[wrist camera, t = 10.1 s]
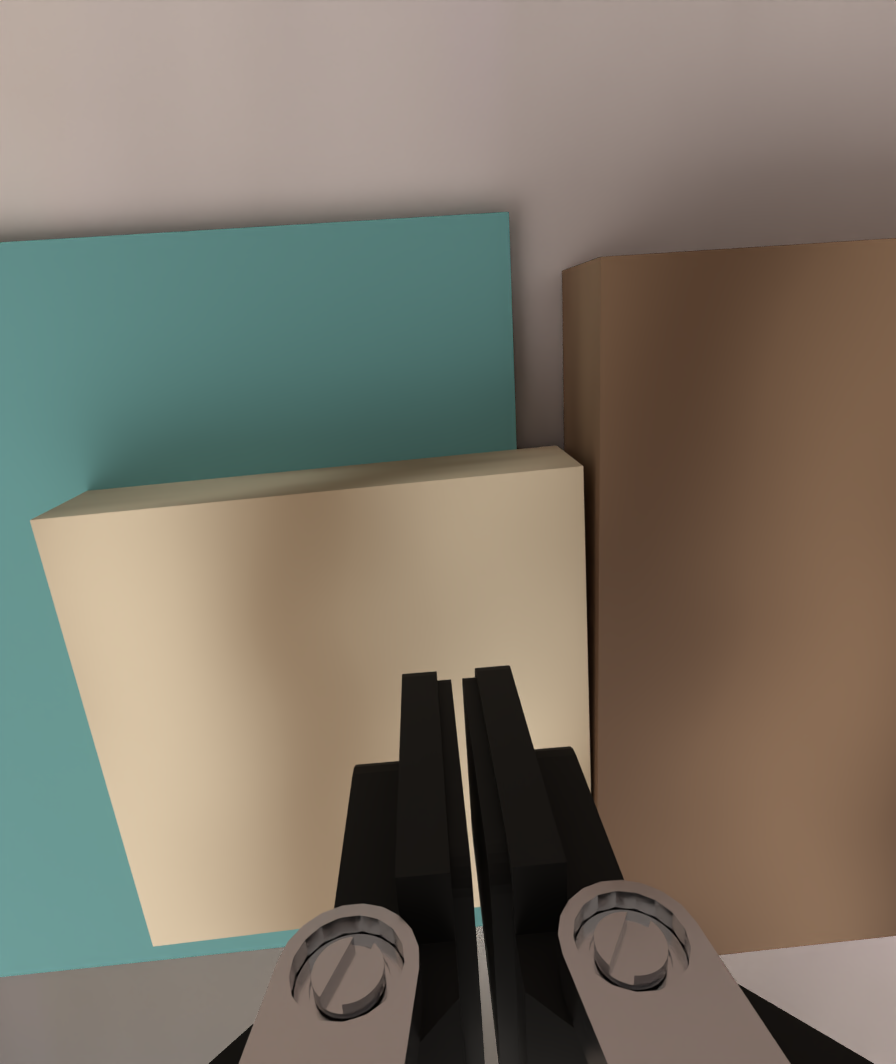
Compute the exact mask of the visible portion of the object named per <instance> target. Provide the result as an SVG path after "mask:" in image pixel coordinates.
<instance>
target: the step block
mask: <svg viewBox="0 0 896 1064" xmlns="http://www.w3.org/2000/svg"><path fill="white" fill-rule="evenodd" d="M562 303H563V394H564V452H566V453H567V454H568V455H570V456H571V457H572V458H573V459H575V460H576V461H577V462H579V463H580V464H581V465H583V476H584V518H585V561H586V603H587V645H588V688H589V730H590V773H591V795H592V797H593V800H594V803H595V805H596V808H597V810H598V813H599V816H600V818H601V821H602V823H603V826H604V829H605V831H606V834H607V836H608V839H609V842H610V844H611V847H612V850H613V852H614V855H615V857H616V860H617V863H618V865H619V868H620V870H621V873H622V876H623V878H624V880H625V881H631V882H638V883H643V884H645V885H648V886H650V887H653V888H655V889H658V890H660V891H663V892H664V893H666V894H667V895H668V896H670V897H671V898H673V899H674V900H676V901H677V902H678V903H680V904H681V905H682V906H683V907H684V908H685V909H686V910H687V912H688V913H689V914H690V915H691V916H692V917H693V918H694V920H695V921H696V922H697V923H698V925H699V926H700V928H701V929H702V931H703V932H704V934H705V935H706V937H707V939H708V940H709V942H710V943H711V945H712V946H713V948H714V949H715V951H716V952H717V954H718V955H724V954H733V953H742V952H751V951H760V950H770V949H779V948H788V947H797V946H806V945H815V944H824V943H833V942H843V941H852V940H861V939H870V938H879V937H888V936H896V238H891V239H875V240H859V241H843V242H827V243H812V244H796V245H780V246H764V247H748V248H733V249H717V250H701V251H685V252H669V253H654V254H638V255H622V256H606V257H599V258H596V259H594V260H591V261H588V262H585V263H583V264H580V265H577V266H574V267H571V268H569V269H566V270H563V271H562Z"/></svg>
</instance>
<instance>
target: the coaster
mask: <svg viewBox="0 0 896 1064" xmlns="http://www.w3.org/2000/svg"><path fill="white" fill-rule="evenodd" d="M30 523H31V526H32V530H33V533H34V537H35V540H36V544H37V547H38V551H39V554H40V557H41V561H42V564H43V568H44V571H45V575H46V578H47V582H48V585H49V589H50V592H51V595H52V599H53V602H54V606H55V609H56V613H57V616H58V620H59V623H60V627H61V630H62V633H63V637H64V640H65V644H66V647H67V651H68V654H69V658H70V661H71V665H72V668H73V671H74V675H75V678H76V682H77V685H78V689H79V692H80V696H81V699H82V703H83V706H84V709H85V713H86V716H87V720H88V723H89V727H90V730H91V734H92V737H93V741H94V744H95V748H96V751H97V754H98V758H99V761H100V765H101V768H102V772H103V775H104V779H105V782H106V786H107V789H108V792H109V796H110V799H111V803H112V806H113V810H114V813H115V817H116V820H117V824H118V827H119V830H120V834H121V837H122V841H123V844H124V848H125V851H126V855H127V858H128V862H129V865H130V868H131V872H132V875H133V879H134V882H135V886H136V889H137V893H138V896H139V900H140V903H141V906H142V910H143V913H144V917H145V920H146V924H147V927H148V931H149V934H150V938H151V941H152V944H153V947H154V946H162V945H170V944H179V943H187V942H195V941H203V940H212V939H220V938H228V937H236V936H245V935H253V934H261V933H269V932H277V931H286V930H294V929H300V928H301V927H302V926H303V925H304V924H306V923H307V922H309V921H311V920H312V919H314V918H315V917H317V916H318V915H320V914H321V913H323V912H326V911H329V910H332V909H334V905H335V897H336V890H337V883H338V876H339V868H340V861H341V854H342V847H343V839H344V832H345V825H346V818H347V810H348V803H349V796H350V789H351V782H352V774H353V769H354V766H355V765H358V764H369V763H381V762H393V761H399V747H400V718H401V688H402V674H408V673H420V672H433V671H437V680H449V679H451V683H452V692H453V701H454V711H455V720H456V729H457V738H458V748H459V757H460V766H461V775H462V785H463V794H464V803H465V813H466V822H467V831H468V840H469V850H470V860H471V871H472V883H473V896H474V908H475V907H480V898H479V890H478V881H477V873H476V864H475V855H474V847H473V837H472V825H471V810H470V795H469V780H468V765H467V749H466V734H465V719H464V703H463V688H462V678H473V677H475V668H481V667H493V666H505V665H510V668H511V671H512V674H513V678H514V681H515V685H516V688H517V691H518V695H519V698H520V702H521V705H522V709H523V712H524V716H525V719H526V723H527V726H528V730H529V733H530V736H531V740H532V743H533V747H534V749H543V748H555V747H567V746H571V747H572V748H573V749H574V752H575V754H576V756H577V758H578V761H579V764H580V766H581V769H582V771H583V774H584V777H585V779H586V782H587V784H588V787H589V790H590V792H591V773H590V730H589V688H588V645H587V603H586V561H585V518H584V476H583V465H581V464H580V463H579V462H577V461H576V460H575V459H573V458H572V457H571V456H570V455H568V454H567V453H566V452H564V451H563V450H562V449H560V448H559V447H558V446H557V445H556V446H546V447H535V448H525V449H515V450H504V451H494V452H484V453H473V454H463V455H453V456H442V457H432V458H422V459H411V460H401V461H390V462H380V463H370V464H359V465H349V466H339V467H328V468H318V469H308V470H297V471H287V472H277V473H266V474H256V475H246V476H235V477H225V478H215V479H204V480H194V481H184V482H173V483H163V484H153V485H142V486H132V487H122V488H111V489H101V490H91V491H86V492H84V493H82V494H80V495H78V496H76V497H74V498H72V499H70V500H68V501H66V502H64V503H62V504H60V505H58V506H57V507H55V508H53V509H51V510H49V511H47V512H45V513H43V514H41V515H39V516H37V517H35V518H33V519H31V520H30Z"/></svg>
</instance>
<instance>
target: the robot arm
mask: <svg viewBox="0 0 896 1064" xmlns="http://www.w3.org/2000/svg"><path fill="white" fill-rule="evenodd" d="M462 688H463V703H464V719H465V734H466V749H467V765H468V780H469V795H470V810H471V825H472V837H473V847H474V855H475V864H476V873H477V881H478V890H479V898H480V907H481V916H482V924H483V933H484V941H485V950H486V959H487V967H488V976H489V984H490V993H491V1002H492V1010H493V1019H494V1027H495V1036H496V1045H497V1053H498V1062H499V1064H874V1063H872V1062H870V1061H869V1060H867V1059H865V1058H864V1057H862V1056H860V1055H858V1054H857V1053H855V1052H853V1051H852V1050H850V1049H848V1048H846V1047H845V1046H843V1045H841V1044H840V1043H838V1042H836V1041H835V1040H833V1039H831V1038H829V1037H828V1036H826V1035H824V1034H823V1033H821V1032H819V1031H817V1030H816V1029H814V1028H812V1027H811V1026H809V1025H807V1024H805V1023H804V1022H802V1021H800V1020H799V1019H797V1018H795V1017H794V1016H792V1015H790V1014H788V1013H787V1012H785V1011H783V1010H782V1009H780V1008H778V1007H776V1006H775V1005H773V1004H771V1003H770V1002H768V1001H766V1000H765V999H763V998H761V997H759V996H758V995H756V994H754V993H753V992H751V991H749V990H747V989H746V988H744V987H742V986H741V985H739V984H737V982H736V981H735V979H734V978H733V976H732V975H731V973H730V972H729V970H728V969H727V967H726V966H725V964H724V963H723V961H722V960H721V958H720V957H719V955H718V954H717V952H716V951H715V949H714V948H713V946H712V945H711V943H710V942H709V940H708V939H707V937H706V935H705V934H704V932H703V931H702V929H701V928H700V926H699V925H698V923H697V922H696V921H695V920H694V918H693V917H692V916H691V915H690V914H689V913H688V912H687V910H686V909H685V908H684V907H683V906H682V905H681V904H680V903H678V902H677V901H676V900H674V899H673V898H671V897H670V896H668V895H667V894H666V893H664V892H663V891H660V890H658V889H655V888H653V887H650V886H648V885H645V884H643V883H638V882H631V881H625V880H624V878H623V876H622V873H621V870H620V868H619V865H618V863H617V860H616V857H615V855H614V852H613V850H612V847H611V844H610V842H609V839H608V836H607V834H606V831H605V829H604V826H603V823H602V821H601V818H600V816H599V813H598V810H597V808H596V805H595V803H594V800H593V797H592V795H591V792H590V790H589V787H588V784H587V782H586V779H585V777H584V774H583V771H582V769H581V766H580V764H579V761H578V758H577V756H576V754H575V752H574V749H573V748H572V747H571V746H567V747H555V748H543V749H534V747H533V743H532V740H531V736H530V733H529V730H528V726H527V723H526V719H525V716H524V712H523V709H522V705H521V702H520V698H519V695H518V691H517V688H516V685H515V681H514V678H513V674H512V671H511V668H510V665H505V666H493V667H481V668H475V677H473V678H462ZM209 1064H485V1061H484V1046H483V1031H482V1016H481V1001H480V986H479V971H478V956H477V941H476V926H475V911H474V896H473V883H472V871H471V860H470V850H469V840H468V831H467V822H466V813H465V803H464V794H463V785H462V775H461V766H460V757H459V748H458V738H457V729H456V720H455V711H454V701H453V692H452V683H451V679H449V680H437V671H433V672H420V673H408V674H402V688H401V718H400V747H399V761H393V762H381V763H369V764H358V765H355V766H354V769H353V774H352V782H351V789H350V796H349V803H348V810H347V818H346V825H345V832H344V839H343V847H342V854H341V861H340V868H339V876H338V883H337V890H336V897H335V905H334V909H332V910H329V911H326V912H323V913H321V914H320V915H318V916H317V917H315V918H314V919H312V920H311V921H309V922H307V923H306V924H304V925H303V926H302V927H301V928H300V929H299V930H298V931H297V932H296V934H295V935H294V936H293V937H292V938H291V939H290V940H289V941H288V942H287V944H286V946H285V948H284V950H283V951H282V953H281V955H280V957H279V959H278V961H277V963H276V966H275V968H274V971H273V974H272V976H271V979H270V982H269V984H268V987H267V990H266V992H265V995H264V998H263V1000H262V1003H261V1006H260V1008H259V1011H258V1014H257V1016H256V1019H255V1022H254V1024H253V1025H251V1026H250V1027H249V1028H248V1029H247V1030H246V1031H245V1032H244V1033H242V1034H241V1035H240V1036H239V1037H238V1038H237V1039H236V1040H235V1041H233V1042H232V1043H231V1044H230V1045H229V1046H228V1047H227V1048H226V1049H225V1050H223V1051H222V1052H221V1053H220V1054H219V1055H218V1056H217V1057H216V1058H214V1059H213V1060H212V1061H211V1062H210V1063H209Z"/></svg>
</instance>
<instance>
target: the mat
mask: <svg viewBox="0 0 896 1064" xmlns="http://www.w3.org/2000/svg"><path fill="white" fill-rule="evenodd" d="M515 449H517V444H516V414H515V383H514V353H513V322H512V292H511V261H510V231H509V212H497V213H481V214H464V215H447V216H431V217H414V218H397V219H381V220H364V221H347V222H331V223H314V224H297V225H281V226H264V227H247V228H231V229H214V230H197V231H181V232H164V233H147V234H131V235H114V236H97V237H81V238H64V239H47V240H31V241H14V242H0V977H5V976H15V975H24V974H33V973H43V972H52V971H62V970H71V969H81V968H90V967H99V966H109V965H118V964H128V963H137V962H147V961H156V960H166V959H175V958H184V957H194V956H203V955H213V954H222V953H232V952H241V951H250V950H260V949H269V948H279V947H285V946H286V944H287V942H288V941H289V940H290V939H291V938H292V937H293V936H294V935H295V934H296V932H297V931H298V930H299V929H294V930H286V931H277V932H269V933H261V934H253V935H245V936H236V937H228V938H220V939H212V940H203V941H195V942H187V943H179V944H170V945H162V946H154V947H153V944H152V941H151V938H150V934H149V931H148V927H147V924H146V920H145V917H144V913H143V910H142V906H141V903H140V900H139V896H138V893H137V889H136V886H135V882H134V879H133V875H132V872H131V868H130V865H129V862H128V858H127V855H126V851H125V848H124V844H123V841H122V837H121V834H120V830H119V827H118V824H117V820H116V817H115V813H114V810H113V806H112V803H111V799H110V796H109V792H108V789H107V786H106V782H105V779H104V775H103V772H102V768H101V765H100V761H99V758H98V754H97V751H96V748H95V744H94V741H93V737H92V734H91V730H90V727H89V723H88V720H87V716H86V713H85V709H84V706H83V703H82V699H81V696H80V692H79V689H78V685H77V682H76V678H75V675H74V671H73V668H72V665H71V661H70V658H69V654H68V651H67V647H66V644H65V640H64V637H63V633H62V630H61V627H60V623H59V620H58V616H57V613H56V609H55V606H54V602H53V599H52V595H51V592H50V589H49V585H48V582H47V578H46V575H45V571H44V568H43V564H42V561H41V557H40V554H39V551H38V547H37V544H36V540H35V537H34V533H33V530H32V526H31V523H30V520H31V519H33V518H35V517H37V516H39V515H41V514H43V513H45V512H47V511H49V510H51V509H53V508H55V507H57V506H58V505H60V504H62V503H64V502H66V501H68V500H70V499H72V498H74V497H76V496H78V495H80V494H82V493H84V492H86V491H91V490H101V489H111V488H122V487H132V486H142V485H153V484H163V483H173V482H184V481H194V480H204V479H215V478H225V477H235V476H246V475H256V474H266V473H277V472H287V471H297V470H308V469H318V468H328V467H339V466H349V465H359V464H370V463H380V462H390V461H401V460H411V459H422V458H432V457H442V456H453V455H463V454H473V453H484V452H494V451H504V450H515ZM474 911H475V926H476V927H477V926H483V924H482V916H481V907H475V908H474Z"/></svg>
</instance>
